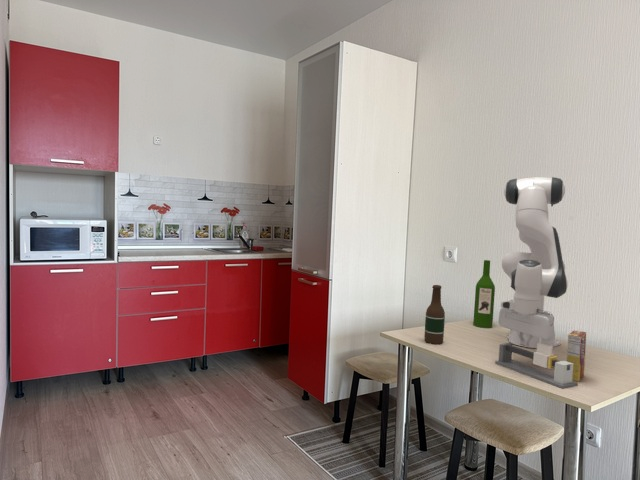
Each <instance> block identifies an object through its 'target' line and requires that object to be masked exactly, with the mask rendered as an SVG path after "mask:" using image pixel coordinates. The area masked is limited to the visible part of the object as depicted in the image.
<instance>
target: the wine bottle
mask: <svg viewBox="0 0 640 480" xmlns="http://www.w3.org/2000/svg"><path fill="white" fill-rule="evenodd" d="M482 270H483V271H482V276H481V277H480V278H479V280H478V281H477V282H476V285H475V294H474V295H475V296H474V307H473V309H474V310H473V322H472V323H473V326H474V327H476V328H482V329H491V328H492V327H493V324H494V320H493V319H494V309H495V295H496V294H495V292H496V286H495V284H494V282H493V280H492V278H491V275H490V274H491V260H488V259H483V269H482Z"/></svg>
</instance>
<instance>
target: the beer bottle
mask: <svg viewBox="0 0 640 480" xmlns="http://www.w3.org/2000/svg"><path fill="white" fill-rule="evenodd" d="M431 289H432V294H431V301H430V304H429V306H428V307H427V308H426V311H425V319H424V321H425V322H424V334H423V335H424V338H423V339H424V342H425V341H426V343H427V344H430V343H431V345H441V344H443V343H444V337H445V336H444V335H445V323H446V322H445V320H446V317H445V316H446V314H445V313H446V312H445V309H444V307H443V306H442V298H441V297H442V285H440V284H433V285H432V288H431Z"/></svg>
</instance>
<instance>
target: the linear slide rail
mask: <svg viewBox="0 0 640 480" xmlns="http://www.w3.org/2000/svg"><path fill="white" fill-rule="evenodd" d="M534 352H535V351H530V350H527V349H524V348H521V347H517V346H516V345H514V344H513V343H511V342H506V343H499V350H498V360H495V362H494V364H496V365H499V366H501V367H503V368H507V369H509V370H512V371H514V372H517V373H519V374H522V375H524V376H528V377H530V378H533V379H535V380H538V381H541V382H544V383H546V384H549V385H552V386H555V387H556V388H560V389H562V390H563V389H566V388H567V389H568V388H571V387H576V386H578V383H579V382H576V381H572V377H573V364H574V363H570V362H567V360H558V358H559V357H558V356H557V355H555V356H552V357H549V358H548V368H547V369H550V370H551V369H554V373H551V372H549V371H546V370H542V369H540V368H537V367H535V366H531V365H528V364H525V363H524V362H521V361H518V360H514V359H512V356H513V354H517V355H519V356H522V357H525V358H528V359H531V360H533V358H534Z"/></svg>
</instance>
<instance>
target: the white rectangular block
mask: <svg viewBox="0 0 640 480" xmlns="http://www.w3.org/2000/svg"><path fill="white" fill-rule="evenodd" d="M553 349H554V347H552V346H549V345H546V344H542V343H537V348H536V351H533V352H534V358H533V359H532V360H533V362H532V365H533V364H534V365H536V366H538V367H542V368H545V369H549V368H548V358H549V357H552V356H556V355H555V354H553Z"/></svg>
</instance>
